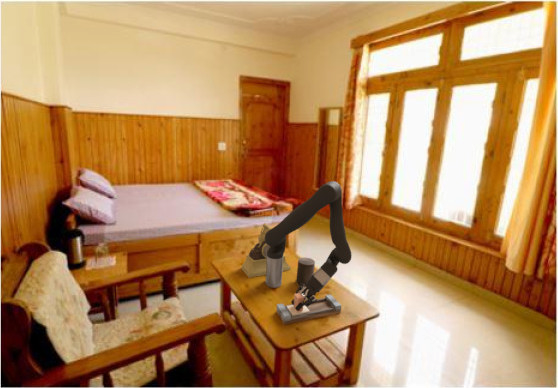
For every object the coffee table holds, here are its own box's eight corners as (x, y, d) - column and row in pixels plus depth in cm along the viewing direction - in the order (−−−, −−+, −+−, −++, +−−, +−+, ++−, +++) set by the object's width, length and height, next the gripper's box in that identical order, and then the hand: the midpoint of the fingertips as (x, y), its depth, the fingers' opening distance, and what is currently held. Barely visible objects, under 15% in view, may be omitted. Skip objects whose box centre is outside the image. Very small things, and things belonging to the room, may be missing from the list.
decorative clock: (248, 278, 173) (250, 229, 166) (241, 268, 184) (242, 222, 177) (290, 269, 186) (293, 224, 179) (281, 261, 197) (283, 218, 190)
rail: (276, 311, 142) (276, 304, 141) (329, 301, 153) (330, 294, 152) (284, 324, 133) (284, 316, 132) (340, 312, 144) (341, 305, 143)
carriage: (286, 308, 142) (287, 293, 140) (302, 305, 145) (304, 290, 144) (292, 317, 136) (293, 301, 134) (309, 313, 139) (310, 298, 137)
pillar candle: (298, 287, 165) (300, 262, 162) (294, 278, 174) (296, 255, 171) (315, 286, 167) (317, 262, 164) (310, 278, 176) (312, 254, 173)
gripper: (307, 268, 146) (283, 294, 144) (322, 283, 133) (296, 311, 131) (316, 277, 149) (292, 302, 147) (331, 291, 136) (305, 319, 134)
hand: (294, 306), depth 139 cm, fingers closed on carriage, 4 cm apart
